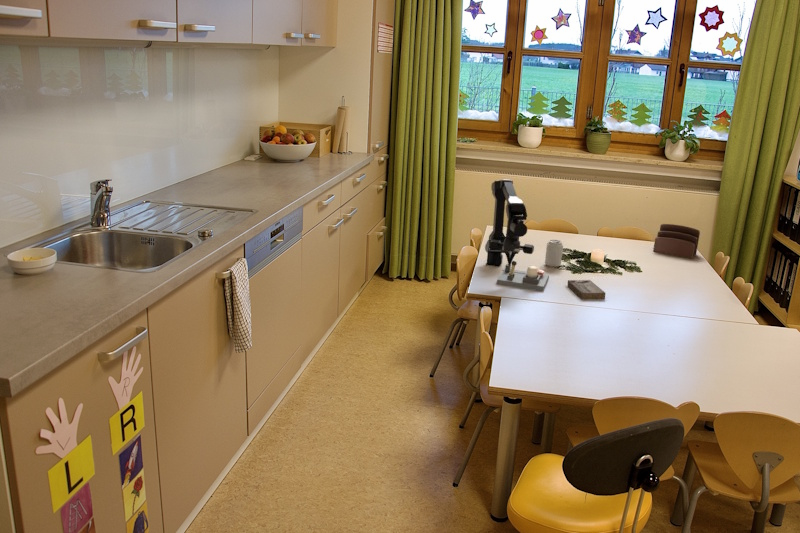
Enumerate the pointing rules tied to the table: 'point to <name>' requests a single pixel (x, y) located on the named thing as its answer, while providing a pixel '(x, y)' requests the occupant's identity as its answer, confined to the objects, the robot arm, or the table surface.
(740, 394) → the table surface
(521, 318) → the table surface
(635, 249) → the table surface
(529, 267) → the button
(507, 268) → the slider
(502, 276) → the panel
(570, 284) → the grey flat block
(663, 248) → the letter holder
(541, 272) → the rocker
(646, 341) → the table surface
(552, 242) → the can
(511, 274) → the lever
